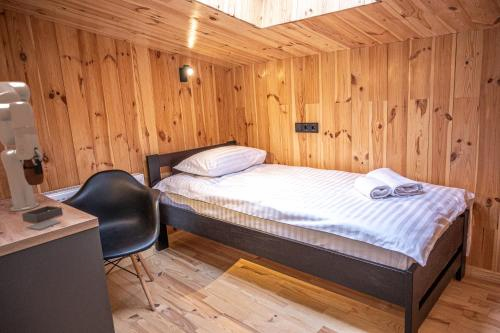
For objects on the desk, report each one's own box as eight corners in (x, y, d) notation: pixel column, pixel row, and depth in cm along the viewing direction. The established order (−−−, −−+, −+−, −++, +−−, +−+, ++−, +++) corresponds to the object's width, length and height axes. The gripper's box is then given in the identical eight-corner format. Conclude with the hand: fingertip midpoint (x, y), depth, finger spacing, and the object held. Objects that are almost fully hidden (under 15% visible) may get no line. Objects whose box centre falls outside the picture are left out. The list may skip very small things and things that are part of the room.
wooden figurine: (25, 187, 134) (17, 151, 131) (28, 184, 139) (21, 150, 137) (44, 184, 137) (37, 149, 134) (46, 182, 142) (39, 148, 139)
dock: (23, 220, 147) (21, 212, 146) (48, 212, 157) (47, 204, 157) (37, 223, 142) (35, 214, 142) (62, 214, 153) (61, 206, 152)
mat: (26, 228, 136) (26, 227, 136) (48, 221, 144) (47, 219, 144) (39, 230, 132) (39, 229, 132) (60, 222, 140) (60, 221, 140)
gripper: (3, 133, 135) (12, 175, 138) (28, 132, 127) (37, 176, 130) (22, 132, 141) (31, 172, 144) (47, 130, 133) (55, 172, 136)
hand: (33, 173), depth 137 cm, fingers closed on wooden figurine, 6 cm apart
